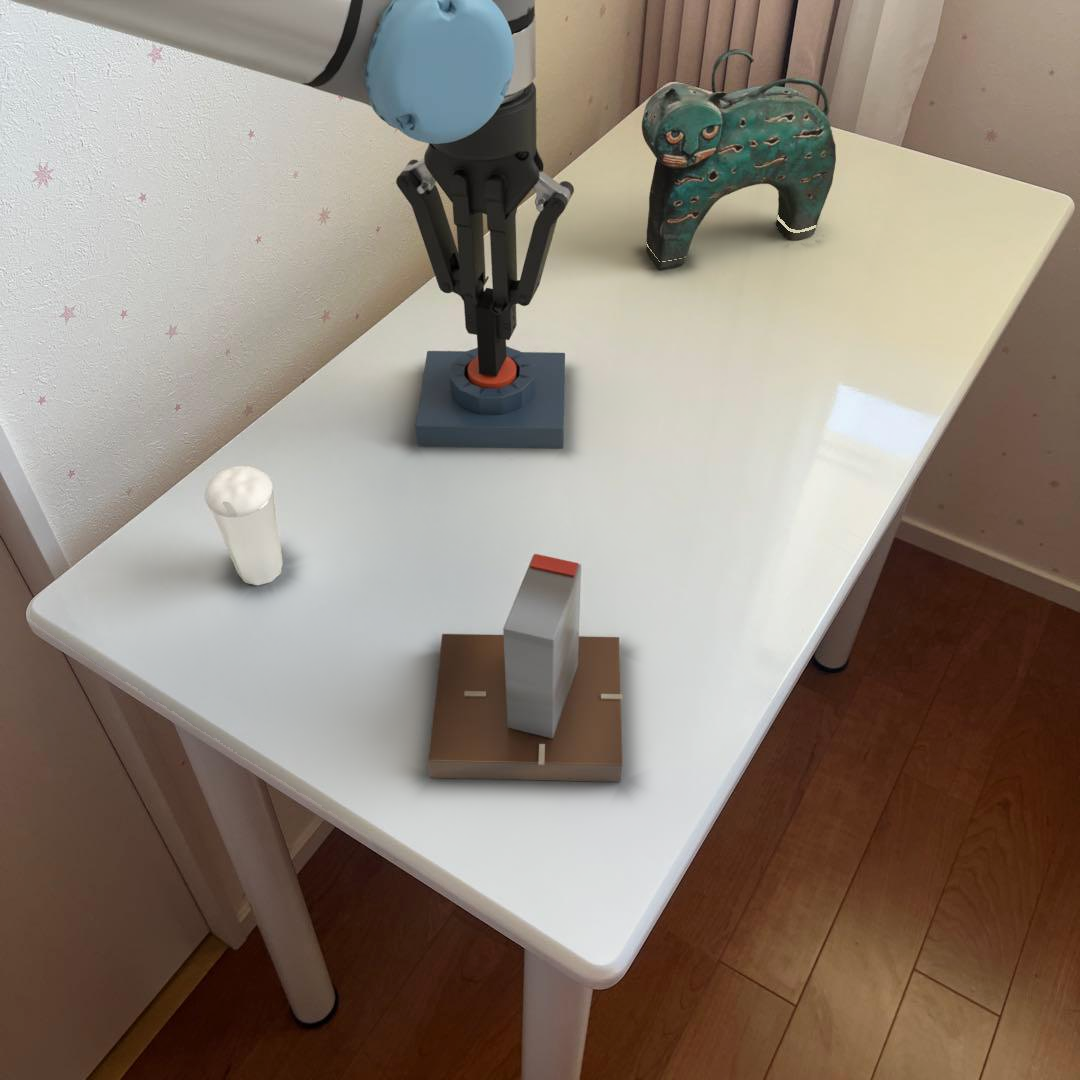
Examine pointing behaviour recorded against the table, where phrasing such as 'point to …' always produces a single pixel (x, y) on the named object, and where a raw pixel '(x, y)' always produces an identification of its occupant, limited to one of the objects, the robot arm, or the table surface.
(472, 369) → the button
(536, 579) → the grey slab
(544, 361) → the button block
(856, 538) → the table surface
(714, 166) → the ceramic cat
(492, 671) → the panel
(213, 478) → the milkshake
